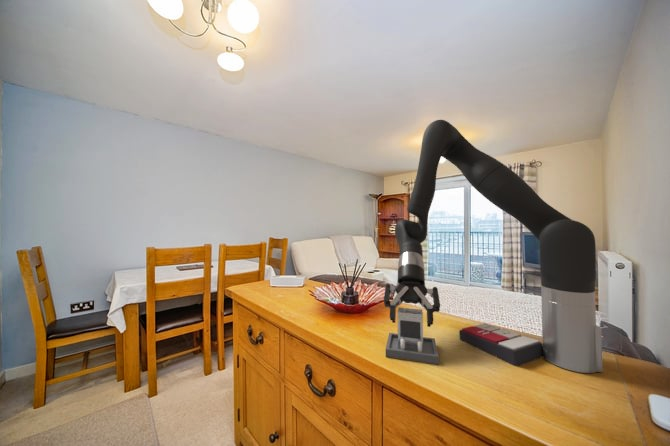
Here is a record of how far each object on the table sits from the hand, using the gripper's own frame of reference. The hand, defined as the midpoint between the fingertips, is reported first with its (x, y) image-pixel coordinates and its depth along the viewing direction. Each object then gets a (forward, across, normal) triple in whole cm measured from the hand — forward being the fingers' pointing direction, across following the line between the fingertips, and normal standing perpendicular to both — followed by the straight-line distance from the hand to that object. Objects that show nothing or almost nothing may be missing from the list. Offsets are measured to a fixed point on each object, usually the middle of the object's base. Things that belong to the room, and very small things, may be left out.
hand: (411, 323), depth 62 cm
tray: (+4, 0, +6) cm, 7 cm away
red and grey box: (-1, +22, +12) cm, 25 cm away
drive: (+4, 0, +5) cm, 6 cm away
